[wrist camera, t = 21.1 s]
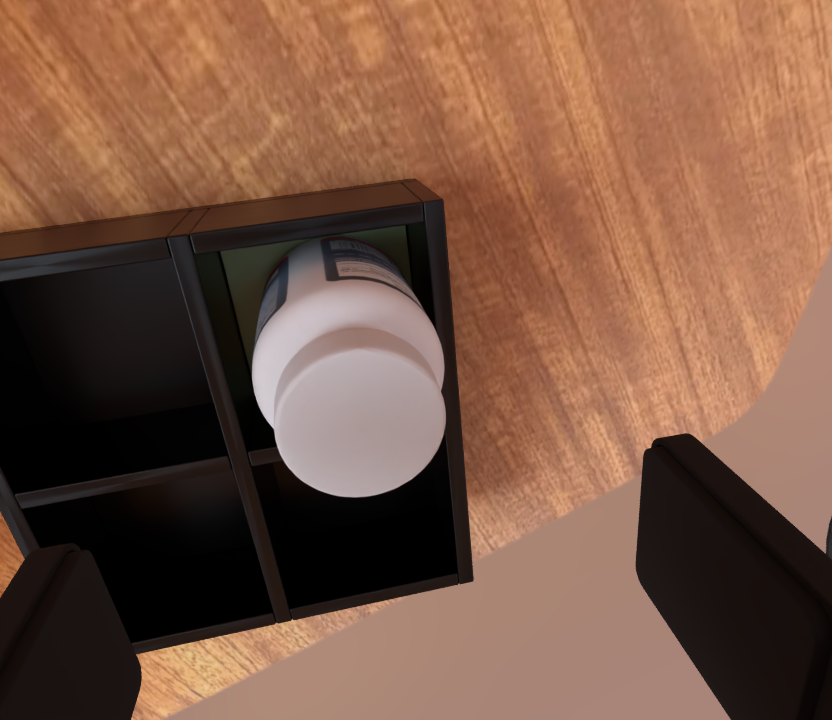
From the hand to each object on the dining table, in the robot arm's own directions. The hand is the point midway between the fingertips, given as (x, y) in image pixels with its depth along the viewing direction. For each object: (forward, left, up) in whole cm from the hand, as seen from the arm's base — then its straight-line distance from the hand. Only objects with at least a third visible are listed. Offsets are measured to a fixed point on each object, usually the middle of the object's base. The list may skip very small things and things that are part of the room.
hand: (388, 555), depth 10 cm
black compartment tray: (+4, +3, -14) cm, 15 cm away
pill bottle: (0, 0, -13) cm, 13 cm away
